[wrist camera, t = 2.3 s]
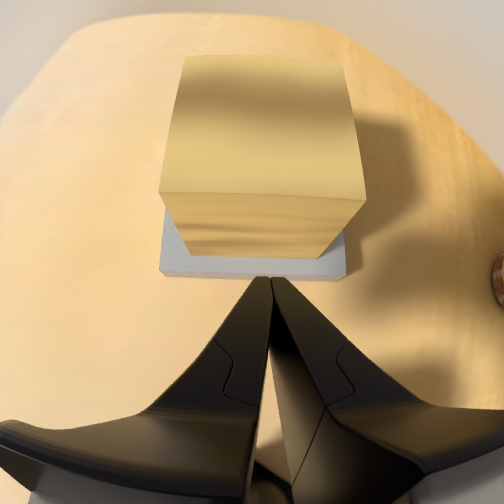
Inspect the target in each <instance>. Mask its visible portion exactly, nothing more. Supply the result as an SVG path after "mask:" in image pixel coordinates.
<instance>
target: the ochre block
mask: <svg viewBox="0 0 504 504" xmlns="http://www.w3.org/2000/svg"><path fill="white" fill-rule="evenodd" d="M159 194H160V196H161V198H162V200H163V202H164V204H165V206H166V208H167V210H168V212H169V214H170V216H171V218H172V220H173V222H174V224H175V226H176V228H177V230H178V232H179V234H180V236H181V238H182V240H183V242H184V244H185V245H186V247H187V249H188V251H189V253H190V255H191V256H211V257H243V258H277V259H312V260H316V259H317V258H318V257H319V256H320V255H321V254H322V253H323V251H324V250H325V249H326V248H327V247H328V246H329V245H330V243H331V242H332V241H333V240H334V239H335V238H336V236H337V235H338V234H339V233H340V232H341V230H342V229H343V228H344V227H345V226H346V225H347V223H348V222H349V221H350V220H351V219H352V217H353V216H354V215H355V214H356V213H357V211H358V210H359V209H360V208H361V207H362V205H363V204H364V203H365V202H366V201H367V198H366V191H365V183H364V176H363V170H362V163H361V157H360V151H359V145H358V139H357V134H356V128H355V123H354V118H353V113H352V108H351V103H350V98H349V94H348V89H347V85H346V81H345V76H344V72H343V68H342V65H340V64H334V63H327V62H319V61H311V60H302V59H291V58H279V57H264V56H237V55H206V56H186V58H185V62H184V66H183V70H182V74H181V78H180V83H179V87H178V91H177V96H176V100H175V105H174V110H173V114H172V119H171V124H170V129H169V134H168V140H167V145H166V151H165V156H164V162H163V168H162V174H161V180H160V187H159Z"/></svg>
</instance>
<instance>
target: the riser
mask: <svg viewBox="0 0 504 504" xmlns="http://www.w3.org/2000/svg"><path fill="white" fill-rule="evenodd" d="M159 270H160V271H161V272H162V273H163V274H164V275H165V276H166V277H188V278H215V279H246V280H253V279H254V278H255V277H256V276H268V277H270V278H271V277H273V276H274V277H285V278H286V279H287V280H288V281H339V280H340V279H342V278H343V277H345V276H346V257H345V241H344V228H343V229H342V230H341V232H340V233H339V234H338V235H337V236H336V238H335V239H334V240H333V241H332V242H331V243H330V245H329V246H328V247H327V248H326V249H325V250H324V251H323V253H322V254H321V255H320V256H319V257H318V258H317V259H316V260H312V259H277V258H243V257H211V256H191V255H190V253H189V251H188V249H187V247H186V245H185V244H184V242H183V240H182V238H181V236H180V234H179V232H178V230H177V228H176V226H175V224H174V222H173V220H172V218H171V216H170V214H169V212H168V210H167V208H166V210H165V218H164V227H163V236H162V245H161V255H160V266H159Z"/></svg>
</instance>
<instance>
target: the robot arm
mask: <svg viewBox="0 0 504 504" xmlns="http://www.w3.org/2000/svg"><path fill="white" fill-rule="evenodd" d="M268 351H269V354H270V360H271V366H272V373H273V379H274V385H275V391H276V397H277V403H278V409H279V415H280V421H281V427H282V433H283V439H284V445H285V451H286V457H287V463H288V469H289V475H290V481H291V483H290V482H288V481H287V480H285V479H284V478H282V477H281V476H279V475H278V474H276V473H275V472H273V471H272V470H270V469H269V468H268V467H266V466H265V465H263V464H262V463H260V462H259V461H258V460H256V459H255V458H254V457H255V450H256V443H257V436H258V429H259V421H260V414H261V407H262V399H263V391H264V384H265V376H266V368H267V360H268ZM0 467H1V468H2V469H3V470H4V471H6V472H7V473H8V474H9V475H10V476H12V477H13V478H14V479H15V480H16V481H18V482H19V483H20V484H21V485H23V486H24V487H25V488H27V489H28V490H29V491H31V495H30V498H29V502H28V504H504V410H490V409H467V408H452V407H440V406H435V405H431V404H429V403H426V402H425V401H423V400H421V399H419V398H418V397H417V396H415V395H414V394H413V393H411V392H410V391H409V390H407V389H406V388H405V387H404V386H402V385H401V384H400V383H398V382H397V381H396V380H395V379H393V378H392V377H391V376H389V375H388V374H387V373H386V372H384V371H383V370H382V369H381V368H379V367H378V366H377V365H376V364H375V363H373V362H372V361H371V360H370V359H369V358H368V357H366V356H365V355H364V354H363V353H362V352H361V351H360V350H359V349H358V348H357V347H356V346H355V345H354V344H353V343H352V342H351V341H350V340H348V339H347V338H346V337H345V336H344V335H343V334H342V333H341V332H340V331H339V330H338V329H337V328H336V327H335V326H334V325H333V324H332V323H331V322H330V321H329V320H328V319H327V318H326V317H325V316H324V315H323V314H322V313H321V312H320V311H319V310H318V309H317V308H316V307H315V306H314V305H313V304H312V303H311V302H310V301H309V300H308V299H307V298H306V297H305V296H304V295H303V294H302V293H301V292H300V291H299V290H298V289H297V288H295V287H294V286H293V285H292V284H291V283H290V282H289V281H288V280H287V279H286V278H285V277H274V276H273V277H271V278H270V277H268V276H256V277H255V278H254V279H253V280H252V282H251V283H250V285H249V286H248V288H247V289H246V290H245V292H244V293H243V295H242V296H241V297H240V299H239V300H238V302H237V303H236V305H235V306H234V307H233V309H232V310H231V312H230V313H229V314H228V316H227V317H226V319H225V320H224V322H223V323H222V324H221V326H220V327H219V329H218V330H217V331H216V333H215V334H214V336H213V337H212V338H211V340H210V341H209V342H208V344H207V345H206V347H205V348H204V349H203V351H202V352H201V353H200V354H199V356H198V357H197V358H196V359H195V361H194V362H193V363H192V364H191V365H190V366H189V367H188V368H187V369H186V370H185V371H184V372H183V374H182V375H181V376H180V377H179V378H178V379H177V380H176V381H175V382H174V383H173V384H172V385H170V386H169V387H168V388H167V389H166V390H165V391H164V392H163V393H162V394H161V395H160V396H159V397H158V398H157V399H156V400H155V401H154V402H153V403H152V404H151V405H150V406H149V407H147V408H146V409H145V410H143V411H141V412H140V413H138V414H136V415H133V416H130V417H126V418H121V419H117V420H113V421H108V422H103V423H99V424H94V425H89V426H83V427H78V428H72V429H64V430H52V429H44V428H40V427H36V426H33V425H30V424H27V423H24V422H21V421H17V420H6V421H2V422H0Z"/></svg>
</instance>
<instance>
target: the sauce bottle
mask: <svg viewBox="0 0 504 504" xmlns="http://www.w3.org/2000/svg"><path fill="white" fill-rule="evenodd" d="M492 274H493V275H492V277H493V282H492V283H493V288H494V291H495V296H496V298H497V300H498V301H499V304H500V305H501V306H502V307H503V308H504V252H503V253H502V254H500V256H499V257H498V258H497V260H496V261H495V263H494V266H493V272H492Z"/></svg>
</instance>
